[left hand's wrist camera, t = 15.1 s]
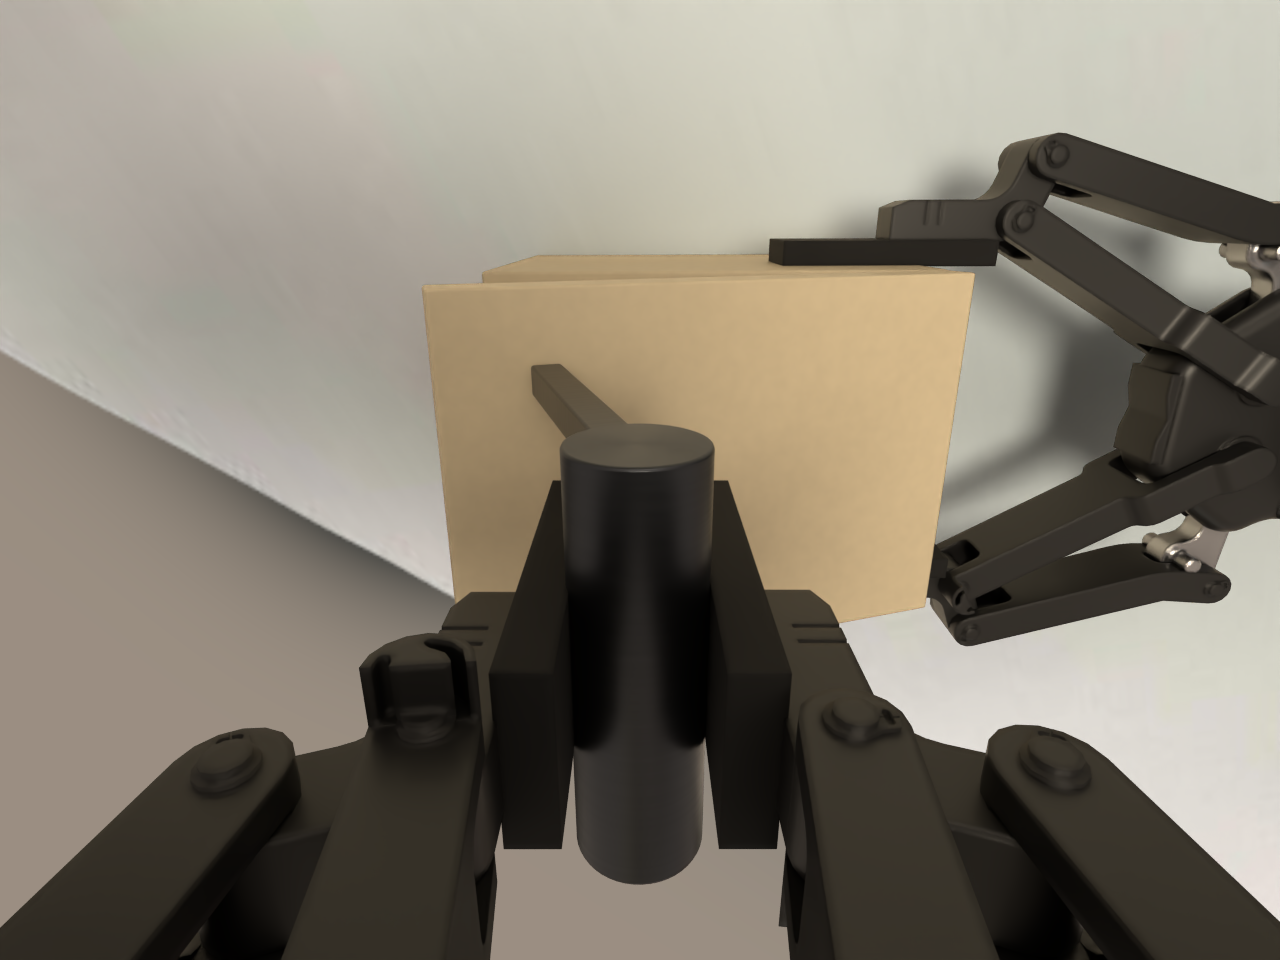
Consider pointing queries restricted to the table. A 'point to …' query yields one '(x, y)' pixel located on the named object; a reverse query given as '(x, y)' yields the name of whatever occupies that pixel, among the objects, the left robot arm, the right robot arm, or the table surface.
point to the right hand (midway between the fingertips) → (766, 413)
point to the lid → (689, 485)
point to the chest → (660, 267)
